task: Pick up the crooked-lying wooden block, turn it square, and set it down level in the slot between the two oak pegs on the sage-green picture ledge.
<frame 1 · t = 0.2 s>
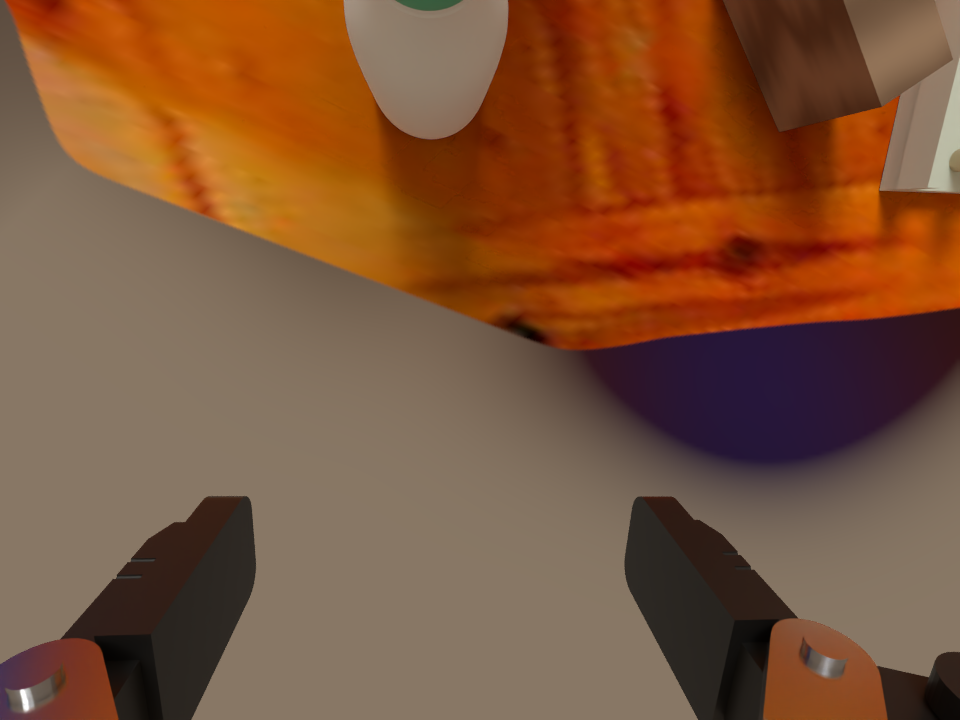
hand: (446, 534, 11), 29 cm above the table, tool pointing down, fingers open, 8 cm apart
wooden block: (773, 35, 36), on the table
milk bottle: (428, 80, 35), on the table
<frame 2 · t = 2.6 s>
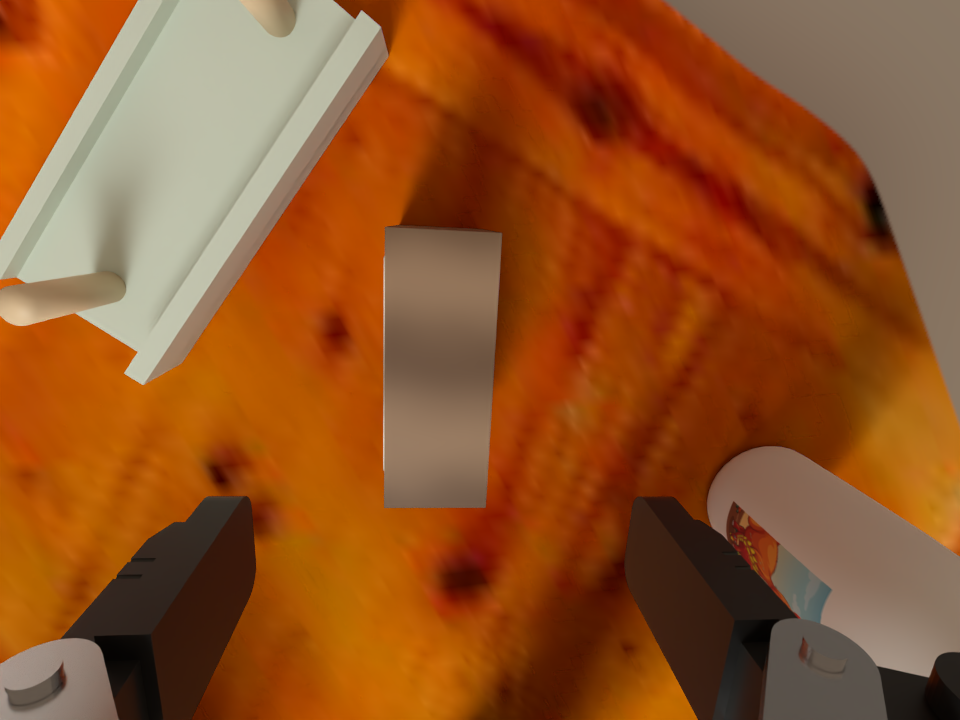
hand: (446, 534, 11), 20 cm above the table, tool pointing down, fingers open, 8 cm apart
wooden block: (437, 332, 30), on the table
ledge: (202, 162, 26), on the table
milk bottle: (755, 492, 35), on the table
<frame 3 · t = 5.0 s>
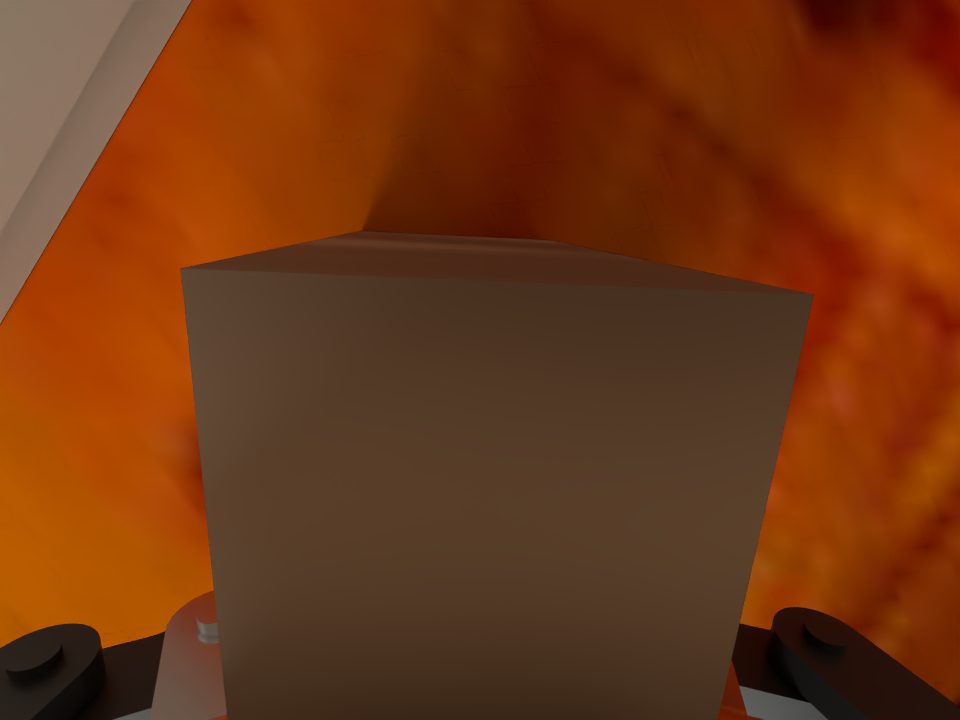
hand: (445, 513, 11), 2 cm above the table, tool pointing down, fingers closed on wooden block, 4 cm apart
wooden block: (448, 463, 14), on the table, touching gripper
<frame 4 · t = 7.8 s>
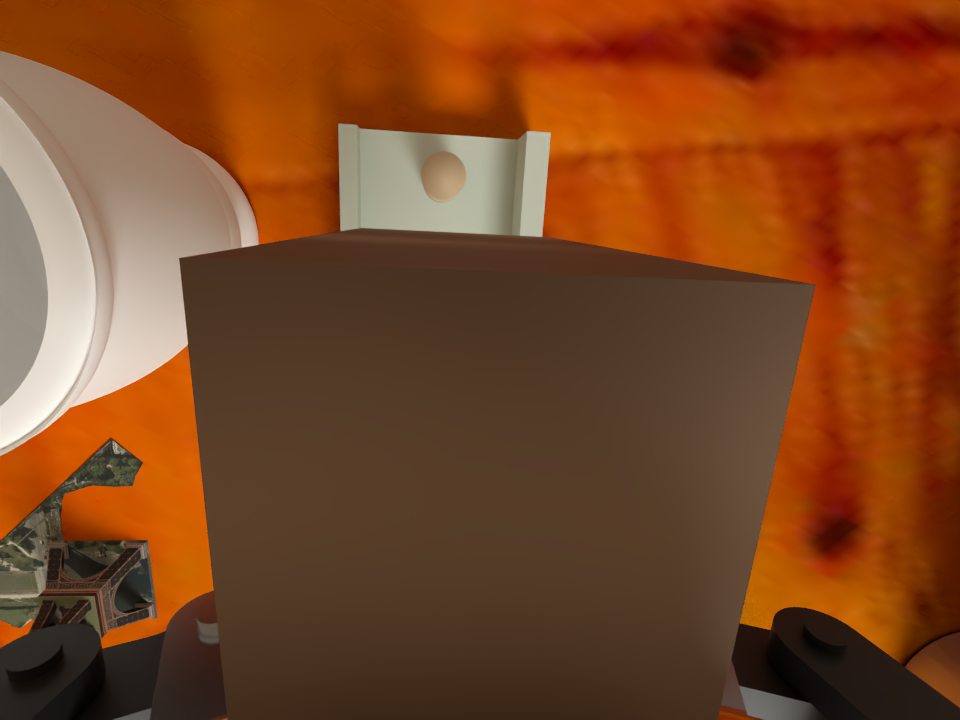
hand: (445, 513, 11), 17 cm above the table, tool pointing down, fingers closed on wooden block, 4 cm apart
wooden block: (448, 461, 14), point 14 cm above the table, touching gripper
ledge: (435, 338, 28), on the table
eiffel tower figurine: (106, 565, 30), on the table
jar: (173, 231, 25), on the table
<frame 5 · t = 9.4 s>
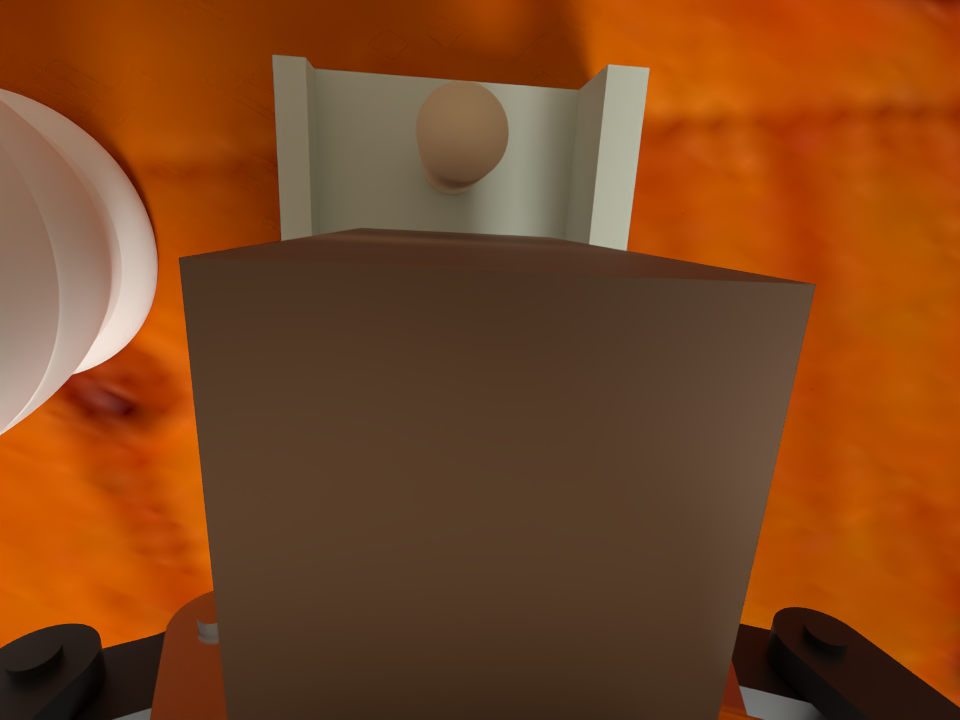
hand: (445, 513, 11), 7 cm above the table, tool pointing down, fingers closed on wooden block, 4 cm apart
wooden block: (448, 460, 14), point 4 cm above the table, touching gripper
ledge: (441, 404, 18), on the table
jar: (20, 240, 16), on the table
when the fingers open (5 cm above the table, at t = 10.6 s): wooden block drops 1 cm, resting on ledge.
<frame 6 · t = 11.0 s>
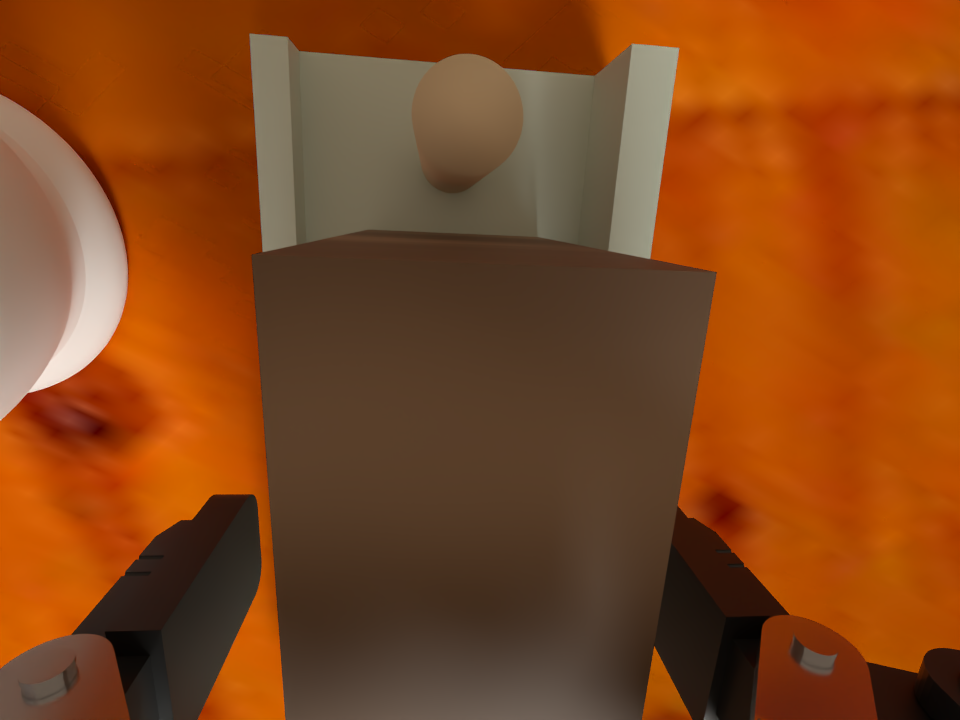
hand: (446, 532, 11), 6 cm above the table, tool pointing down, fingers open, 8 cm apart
wooden block: (448, 441, 15), point 1 cm above the table, touching ledge
ledge: (441, 421, 17), on the table
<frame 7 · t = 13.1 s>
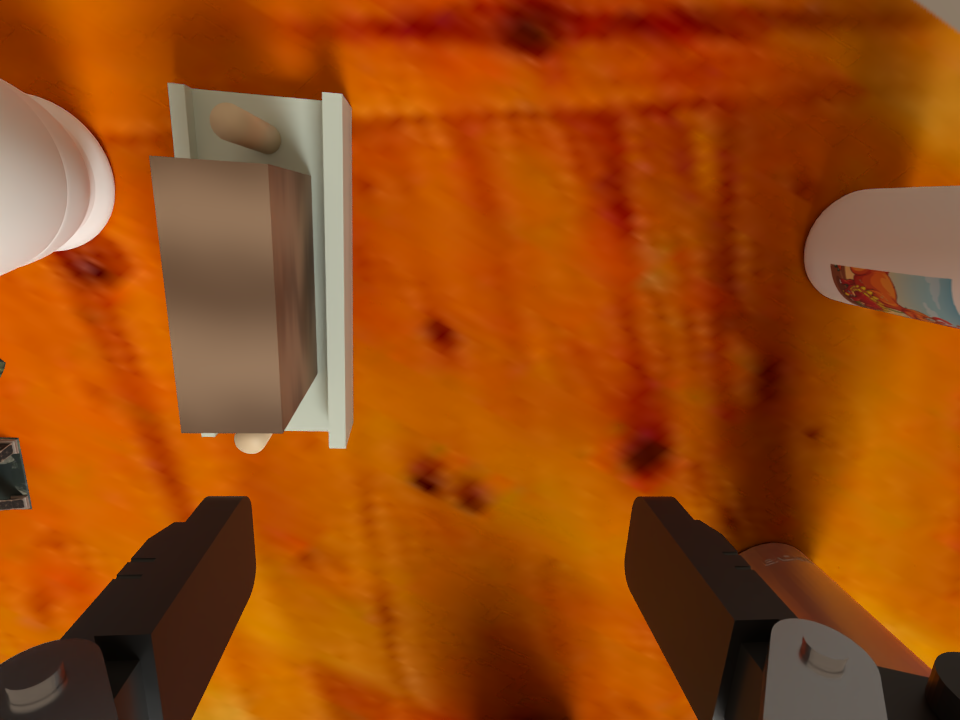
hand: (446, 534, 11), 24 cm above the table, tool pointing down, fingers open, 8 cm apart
wooden block: (276, 278, 31), point 1 cm above the table, touching ledge
ledge: (279, 275, 32), on the table
milk bottle: (848, 246, 36), on the table
jar: (40, 175, 29), on the table
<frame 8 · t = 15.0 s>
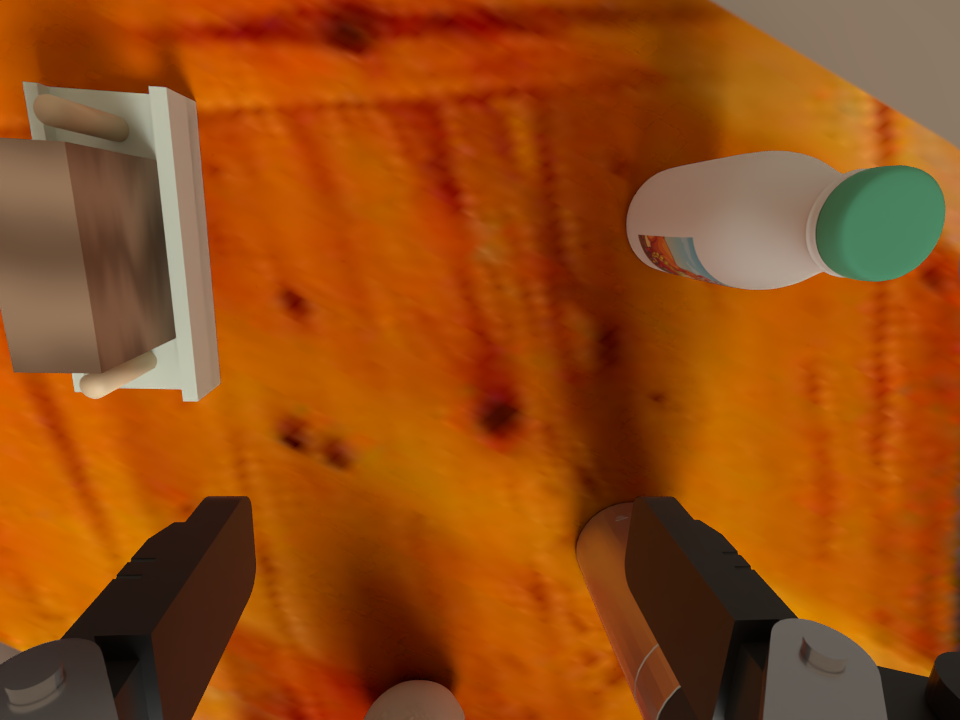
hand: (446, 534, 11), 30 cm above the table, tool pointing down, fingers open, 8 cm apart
wooden block: (134, 251, 35), point 1 cm above the table, touching ledge
ledge: (143, 249, 37), on the table
milk bottle: (670, 220, 40), on the table
grey rounded piece: (414, 696, 50), on the table
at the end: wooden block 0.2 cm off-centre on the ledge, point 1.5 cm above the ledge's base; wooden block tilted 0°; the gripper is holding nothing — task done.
